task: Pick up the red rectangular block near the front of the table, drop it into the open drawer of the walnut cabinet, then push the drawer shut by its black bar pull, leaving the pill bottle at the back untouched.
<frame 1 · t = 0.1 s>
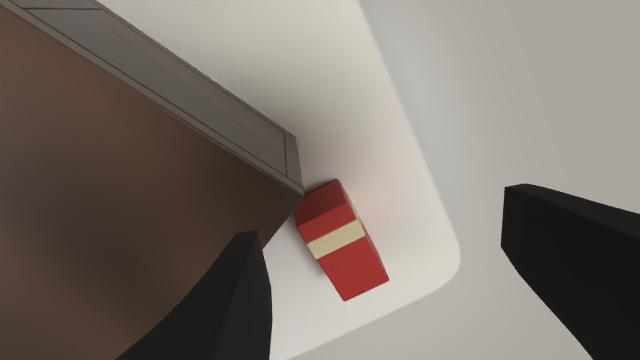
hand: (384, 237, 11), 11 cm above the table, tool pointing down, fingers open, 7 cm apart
red rectangular block: (337, 227, 24), on the table
cabinet: (139, 174, 21), on the table
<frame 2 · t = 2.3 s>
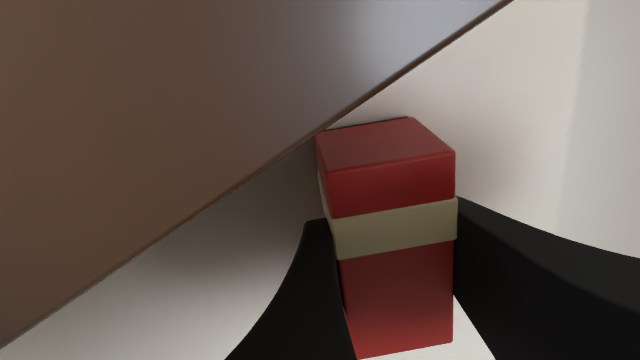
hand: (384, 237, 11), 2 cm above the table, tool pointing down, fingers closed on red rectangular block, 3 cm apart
red rectangular block: (371, 212, 13), on the table, touching gripper
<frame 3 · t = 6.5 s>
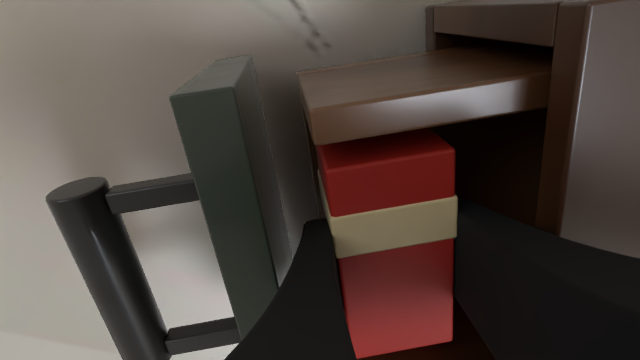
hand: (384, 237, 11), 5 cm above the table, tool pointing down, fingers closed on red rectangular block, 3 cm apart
drawer: (375, 223, 12), point 4 cm above the table, slide at 6.0 cm
red rectangular block: (371, 210, 13), point 3 cm above the table, touching gripper
cabinet: (590, 135, 16), on the table
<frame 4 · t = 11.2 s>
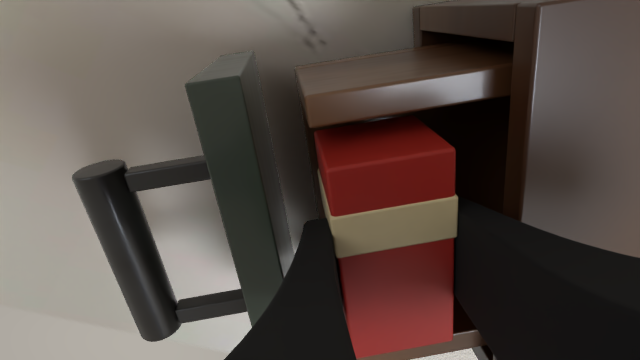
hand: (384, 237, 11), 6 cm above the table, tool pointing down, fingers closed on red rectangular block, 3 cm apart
drawer: (366, 203, 13), point 4 cm above the table, slide at 6.0 cm
red rectangular block: (371, 210, 13), point 4 cm above the table, touching gripper
cabinet: (567, 126, 17), on the table
when the fingers open (8 cm above the table, at t = 20.2 s): red rectangular block drops 5 cm, resting on drawer.
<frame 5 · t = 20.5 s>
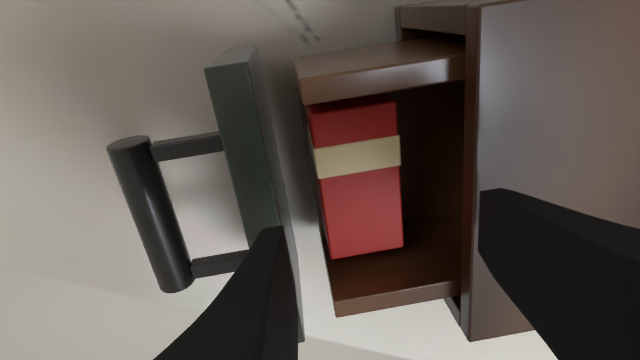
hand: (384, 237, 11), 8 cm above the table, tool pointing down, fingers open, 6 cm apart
drawer: (353, 176, 15), point 4 cm above the table, slide at 6.0 cm, touching red rectangular block
red rectangular block: (347, 158, 17), point 2 cm above the table, touching drawer
cabinet: (534, 113, 19), on the table
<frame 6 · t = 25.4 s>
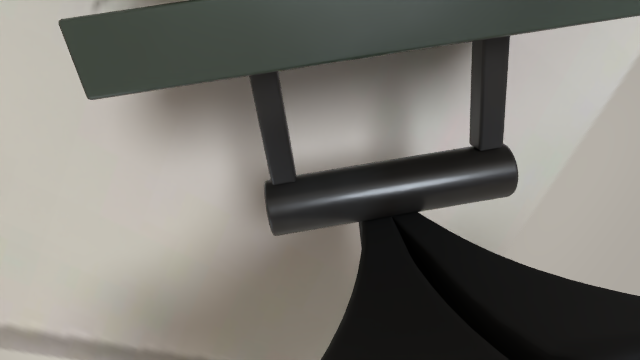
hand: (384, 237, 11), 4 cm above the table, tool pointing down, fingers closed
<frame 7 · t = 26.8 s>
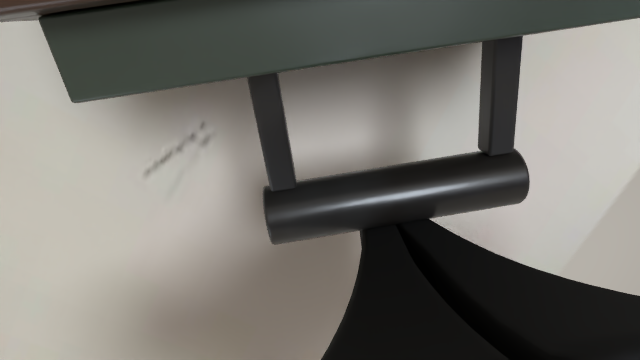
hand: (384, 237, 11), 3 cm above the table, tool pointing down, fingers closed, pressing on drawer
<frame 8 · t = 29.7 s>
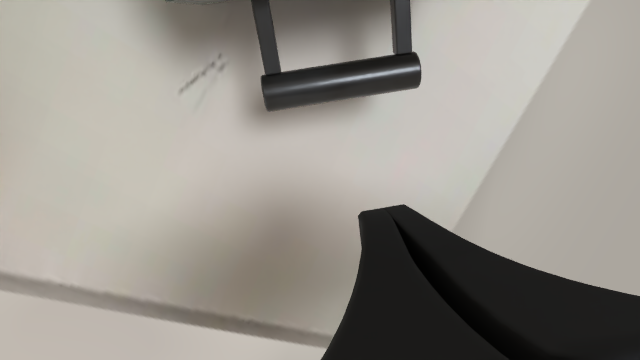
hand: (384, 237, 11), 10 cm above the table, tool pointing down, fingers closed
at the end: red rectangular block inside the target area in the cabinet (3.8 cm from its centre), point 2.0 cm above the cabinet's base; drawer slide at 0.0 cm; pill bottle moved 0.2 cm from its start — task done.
